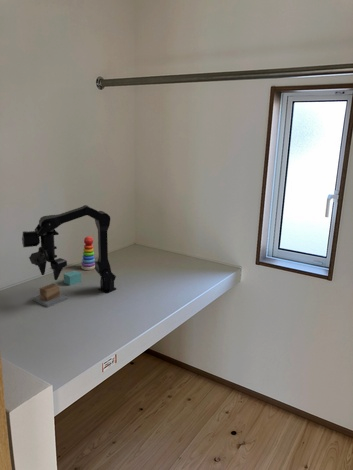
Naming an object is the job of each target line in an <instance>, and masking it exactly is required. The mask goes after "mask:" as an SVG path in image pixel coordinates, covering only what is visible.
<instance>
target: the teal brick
mask: <svg viewBox="0 0 353 470" xmlns="http://www.w3.org/2000/svg"><path fill="white" fill-rule="evenodd" d="M63 282H64V284H65V285H68V286H73V285H76V284H78V283H82V272H79V271H77V270H73V271H69V272H66V273H64V274H63Z"/></svg>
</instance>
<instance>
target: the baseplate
mask: <svg viewBox="0 0 353 470" xmlns="http://www.w3.org/2000/svg"><path fill="white" fill-rule="evenodd" d="M31 300H32V301H33V302H36V303H37V304H40V305H42V306H45V307H46V308H49V307H52V306H54V305H57V304H59V303H61V302H65V301H66V300H68V296H66V295H65V294H62V293H60V296H59V297H57V298H54V299H52V300H49V301H45V300H43V299H41V298H40V294H39V295H36V296H33V297H32V298H31Z"/></svg>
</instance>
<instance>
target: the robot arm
mask: <svg viewBox="0 0 353 470" xmlns="http://www.w3.org/2000/svg"><path fill="white" fill-rule="evenodd" d="M85 216H87V217H90V218H92V219H94V222H95V226H96V228H97V246H98V247H97V248H98V251H97V252H98V254H97V255H98V258H97V261H96V260H95V261H94V262H95V268H94V269H93V270H95V272H96V273H97V274H98V275H99V276H100V283H99V284H100V286H99V287H98V291H101V292H104V293H105V294H106V293H107V294H108V293H111V292H114V291H115V290H117V288H116V287H115V280H116V278H117V275H115V274H114V273H113V272H112V269H111V265H110V261H109V257H108V256H109V254H108V253H109V248H108V247H109V246H108V245H109V243H108V230H109V228H110V224H111V216H110V215H109V214H108V213H106V211H104V210H97V209H94V208H92V207H90V206H89V205H86V204H85V205H83V206H80V207H77V208H74V209H72V210H68V211H65V212H62V213H60V214H50V215H49V214H47V215H44V216H41V217H40V219H39V220H38V224H37V226H36V227H35V228H34V230H33V231H32V230H31V231H25V230H24V231H22V235H21V236H22V237H21V241H22V247H23V248H30V247H31V248H32V247H38V245H39V244H40V246H39V247H38V251H37V252H32V253H31V255H29V257H28V258H29V260H30V263H31V265H35V266H37V267H38V270H39V271H40V274H41V275H42V276H44V275H45V273H46V268H47V263H50V269H51V270H52V271H53V272H52V273H53V278H54V279H53V280H54V281H57V280H58V279H59V277H60V274H61V272H62V271H63V269H64V268H65V267H66V266H68V261H67V260H66V259H65V258H64V259H63V258H61V257H59V258H58V255H57V254H55V253H56V251H55V250H57V248H58V247H57V246H55V236H58V235H59V232H58V231H57V230H55V229H58V228H59V227H60V226H61V225H63V224H66V223H68V222H71V221H74V220H76V219H80V218H83V217H85Z"/></svg>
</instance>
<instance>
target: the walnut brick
mask: <svg viewBox="0 0 353 470" xmlns="http://www.w3.org/2000/svg"><path fill="white" fill-rule="evenodd" d="M60 291H61V290H60V286H59V285H57V284H55V283H50V284H47V285H44V286H41V287H40V288H39V295H40V298H41V299H43V300H45V301H49V300H52V299H54V298H57V297H59V296H60V294H61V292H60Z"/></svg>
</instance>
